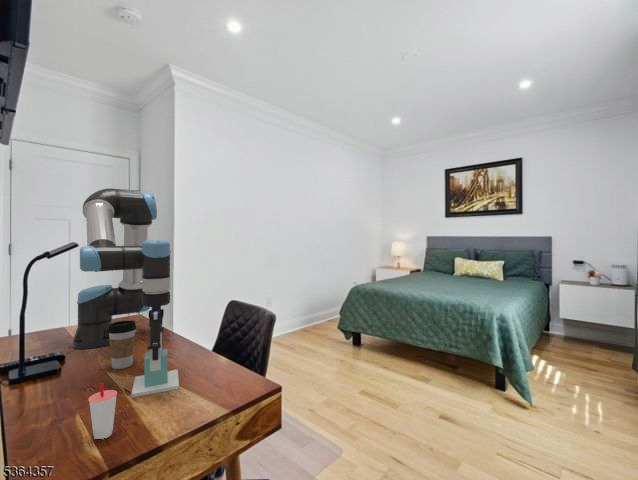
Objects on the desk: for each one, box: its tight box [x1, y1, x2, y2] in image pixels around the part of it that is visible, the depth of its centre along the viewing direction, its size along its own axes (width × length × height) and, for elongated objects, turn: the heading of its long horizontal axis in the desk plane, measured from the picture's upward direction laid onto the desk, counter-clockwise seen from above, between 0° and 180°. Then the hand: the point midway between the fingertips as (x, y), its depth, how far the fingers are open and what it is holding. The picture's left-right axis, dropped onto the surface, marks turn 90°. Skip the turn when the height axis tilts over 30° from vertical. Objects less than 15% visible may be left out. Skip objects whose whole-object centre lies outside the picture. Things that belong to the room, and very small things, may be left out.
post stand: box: [131, 368, 180, 399], centre depth 94 cm, size 12×12×8 cm
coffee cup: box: [108, 320, 137, 370], centre depth 108 cm, size 8×8×15 cm
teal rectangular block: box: [143, 348, 169, 387], centre depth 94 cm, size 6×6×8 cm
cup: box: [87, 382, 118, 440], centre depth 70 cm, size 5×5×12 cm
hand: (156, 361), depth 95 cm, fingers open, 13 cm apart
